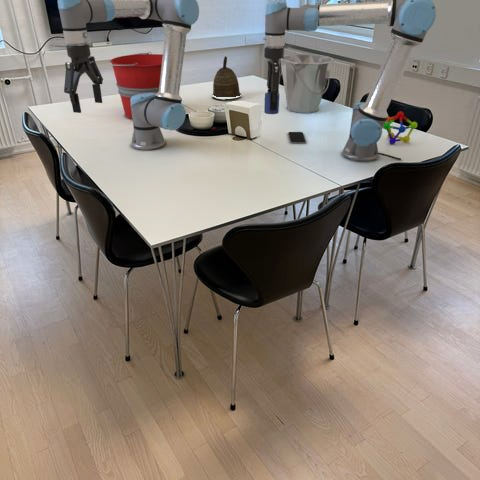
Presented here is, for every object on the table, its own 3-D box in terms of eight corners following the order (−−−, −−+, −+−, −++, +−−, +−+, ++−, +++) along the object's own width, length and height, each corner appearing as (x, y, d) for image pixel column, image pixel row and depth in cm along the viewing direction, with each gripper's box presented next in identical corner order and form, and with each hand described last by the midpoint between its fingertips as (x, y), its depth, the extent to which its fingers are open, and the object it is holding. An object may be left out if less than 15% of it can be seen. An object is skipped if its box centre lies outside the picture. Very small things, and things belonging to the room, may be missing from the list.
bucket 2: (304, 119, 242) (309, 65, 227) (267, 107, 261) (268, 57, 246) (338, 109, 259) (345, 58, 244) (301, 99, 278) (304, 51, 263)
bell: (227, 105, 294) (202, 96, 282) (238, 66, 289) (213, 55, 277) (243, 108, 280) (217, 98, 268) (255, 66, 275) (229, 55, 263)
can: (280, 111, 183) (281, 92, 179) (274, 115, 179) (275, 96, 175) (268, 109, 185) (268, 91, 181) (261, 113, 181) (262, 94, 177)
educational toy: (377, 146, 209) (379, 114, 202) (384, 138, 219) (386, 107, 211) (411, 149, 202) (415, 116, 195) (417, 141, 212) (420, 109, 204)
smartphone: (290, 142, 209) (288, 131, 222) (290, 143, 209) (288, 133, 222) (306, 142, 209) (302, 131, 221) (305, 143, 209) (302, 133, 222)
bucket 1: (124, 105, 264) (117, 51, 248) (182, 105, 263) (179, 51, 247) (107, 122, 235) (98, 62, 219) (173, 123, 234) (169, 63, 218)
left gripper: (64, 50, 138) (77, 117, 149) (107, 39, 158) (115, 99, 170) (43, 49, 140) (58, 115, 151) (88, 38, 160) (98, 98, 172)
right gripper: (261, 43, 177) (259, 102, 189) (268, 51, 161) (266, 114, 173) (279, 43, 177) (276, 101, 189) (288, 50, 161) (285, 114, 173)
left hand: (88, 107), depth 161 cm, fingers open, 13 cm apart
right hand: (271, 107), depth 181 cm, fingers closed on can, 6 cm apart
